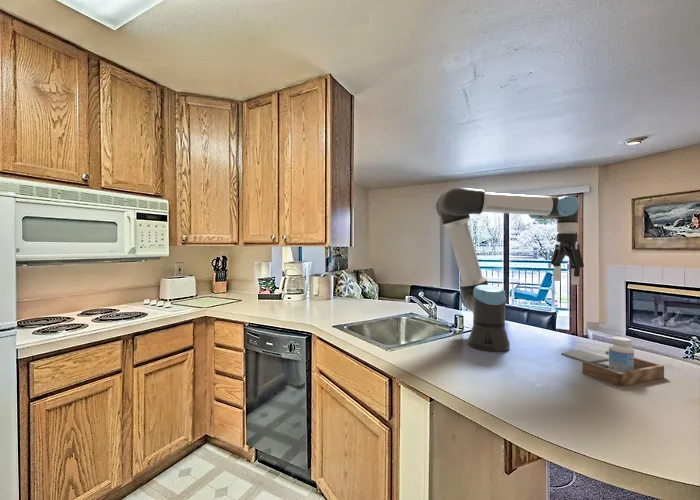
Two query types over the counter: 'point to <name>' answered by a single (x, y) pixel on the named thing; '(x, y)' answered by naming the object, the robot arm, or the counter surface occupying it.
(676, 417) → the counter surface
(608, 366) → the disc
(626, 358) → the pill bottle
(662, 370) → the cubby
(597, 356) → the coaster
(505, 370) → the counter surface
